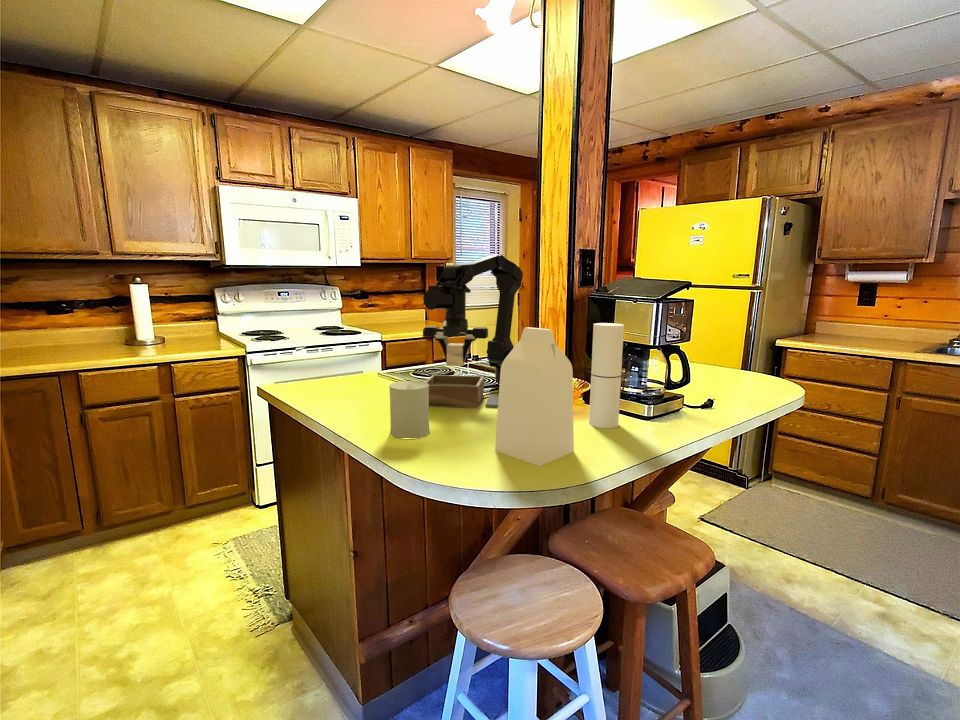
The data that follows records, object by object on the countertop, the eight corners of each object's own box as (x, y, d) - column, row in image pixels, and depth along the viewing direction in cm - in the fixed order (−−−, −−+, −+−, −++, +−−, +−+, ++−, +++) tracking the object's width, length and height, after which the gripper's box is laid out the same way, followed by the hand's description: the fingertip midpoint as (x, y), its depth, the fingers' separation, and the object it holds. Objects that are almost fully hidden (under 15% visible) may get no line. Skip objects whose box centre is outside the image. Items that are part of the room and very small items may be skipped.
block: (449, 362, 151) (449, 343, 150) (464, 363, 150) (464, 343, 149) (446, 365, 146) (446, 345, 145) (462, 366, 146) (462, 345, 145)
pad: (489, 396, 151) (489, 394, 151) (516, 397, 150) (516, 395, 150) (485, 407, 139) (485, 404, 139) (514, 408, 138) (514, 405, 138)
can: (392, 441, 111) (390, 388, 109) (388, 428, 119) (387, 379, 117) (433, 437, 113) (432, 386, 111) (426, 426, 122) (425, 378, 120)
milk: (494, 450, 105) (496, 328, 101) (529, 438, 113) (532, 324, 109) (539, 466, 97) (543, 333, 92) (573, 451, 105) (578, 329, 100)
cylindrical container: (587, 426, 122) (592, 325, 118) (590, 418, 129) (594, 322, 125) (617, 429, 120) (623, 326, 116) (618, 421, 127) (624, 323, 123)
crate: (432, 393, 155) (432, 374, 154) (483, 395, 153) (483, 376, 152) (421, 406, 140) (421, 385, 139) (477, 408, 138) (477, 387, 137)
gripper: (417, 309, 138) (418, 364, 141) (484, 311, 136) (483, 366, 139) (426, 307, 149) (427, 358, 152) (488, 308, 147) (488, 360, 150)
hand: (455, 361), depth 148 cm, fingers closed on block, 5 cm apart
